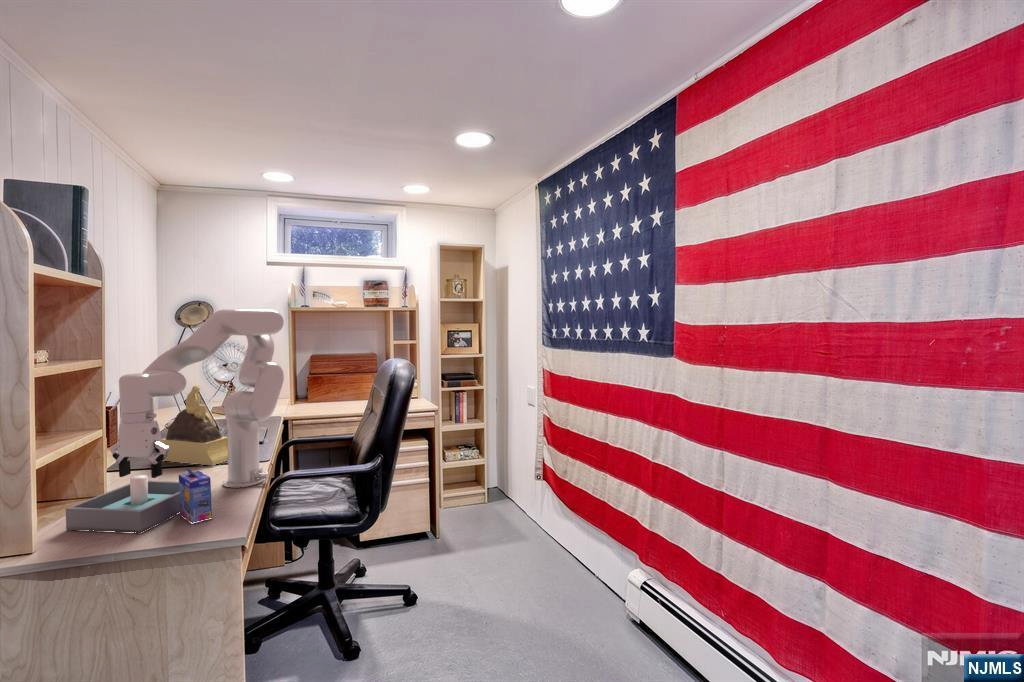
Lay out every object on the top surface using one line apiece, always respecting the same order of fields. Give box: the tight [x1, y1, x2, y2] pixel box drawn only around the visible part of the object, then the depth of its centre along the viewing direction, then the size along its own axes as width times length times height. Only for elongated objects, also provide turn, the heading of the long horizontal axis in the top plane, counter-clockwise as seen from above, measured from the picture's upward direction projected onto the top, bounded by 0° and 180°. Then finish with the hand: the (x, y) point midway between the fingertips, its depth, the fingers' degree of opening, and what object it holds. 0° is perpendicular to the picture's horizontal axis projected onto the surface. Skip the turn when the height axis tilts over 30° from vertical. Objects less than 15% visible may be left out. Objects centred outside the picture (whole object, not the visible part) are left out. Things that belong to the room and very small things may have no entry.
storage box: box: [65, 480, 180, 533], centre depth 141 cm, size 21×23×6 cm
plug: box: [129, 474, 149, 505], centre depth 141 cm, size 4×4×10 cm
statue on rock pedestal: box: [154, 385, 228, 467], centre depth 197 cm, size 28×13×30 cm, turn 76°
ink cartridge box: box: [178, 467, 214, 523], centre depth 140 cm, size 10×6×14 cm, turn 51°
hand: (141, 476), depth 141 cm, fingers open, 9 cm apart
